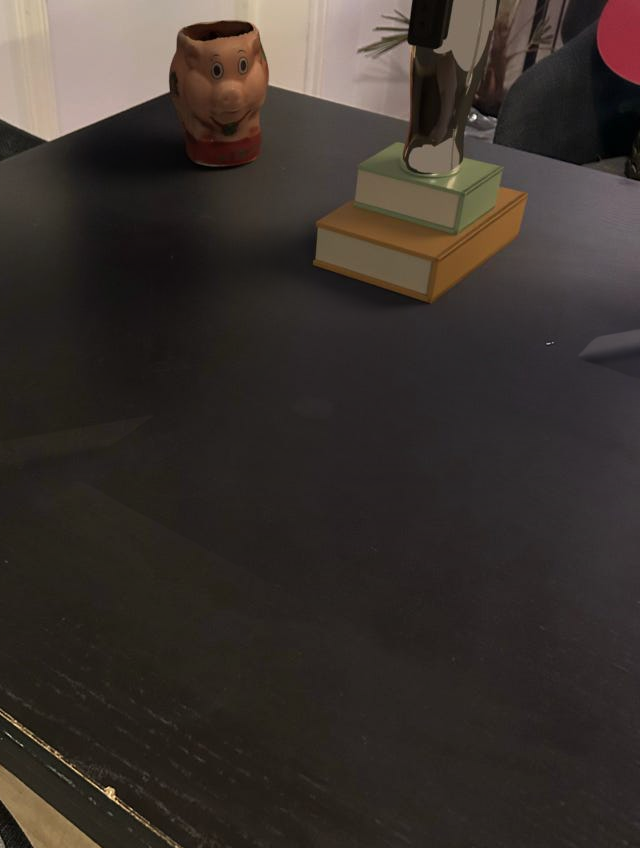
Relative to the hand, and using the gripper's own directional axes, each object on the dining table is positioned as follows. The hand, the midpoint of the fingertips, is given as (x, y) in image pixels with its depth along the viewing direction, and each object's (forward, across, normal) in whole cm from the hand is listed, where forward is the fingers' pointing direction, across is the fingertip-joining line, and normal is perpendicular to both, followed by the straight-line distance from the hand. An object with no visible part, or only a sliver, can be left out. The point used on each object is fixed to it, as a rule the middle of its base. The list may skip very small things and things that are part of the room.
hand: (452, 31), depth 81 cm
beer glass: (+12, 0, 0) cm, 12 cm away
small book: (+15, 0, 0) cm, 15 cm away
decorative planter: (+20, +10, +35) cm, 42 cm away
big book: (+20, 0, 0) cm, 20 cm away
